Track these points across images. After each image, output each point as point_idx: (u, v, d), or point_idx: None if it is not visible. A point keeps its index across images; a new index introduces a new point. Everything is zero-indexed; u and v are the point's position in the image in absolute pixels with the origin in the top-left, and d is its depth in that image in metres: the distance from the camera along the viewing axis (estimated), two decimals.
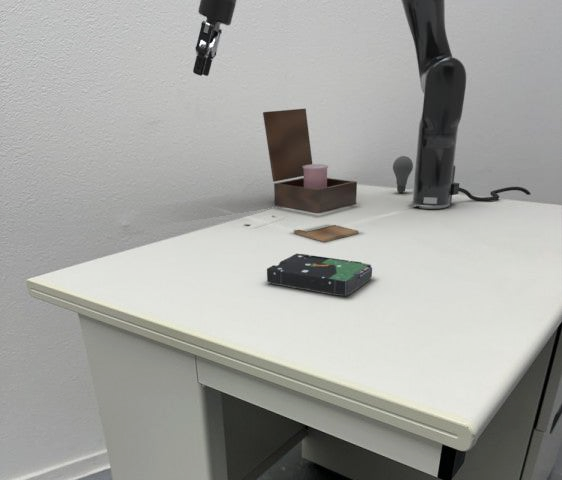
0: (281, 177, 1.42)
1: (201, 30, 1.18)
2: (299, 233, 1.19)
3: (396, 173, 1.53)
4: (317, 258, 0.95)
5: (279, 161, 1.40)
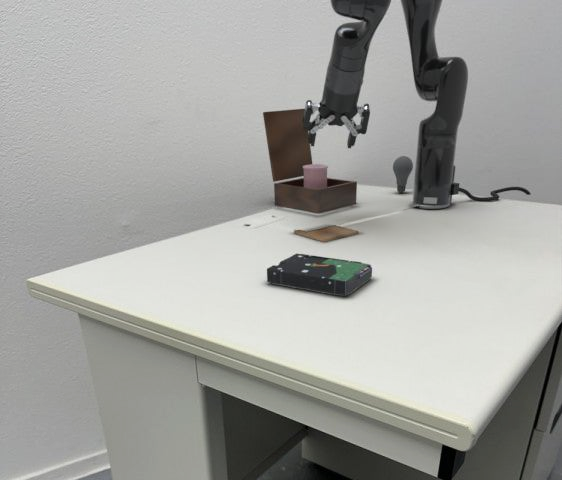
0: (281, 177, 1.42)
1: None
2: (299, 233, 1.19)
3: (396, 173, 1.53)
4: (317, 258, 0.95)
5: (279, 161, 1.40)
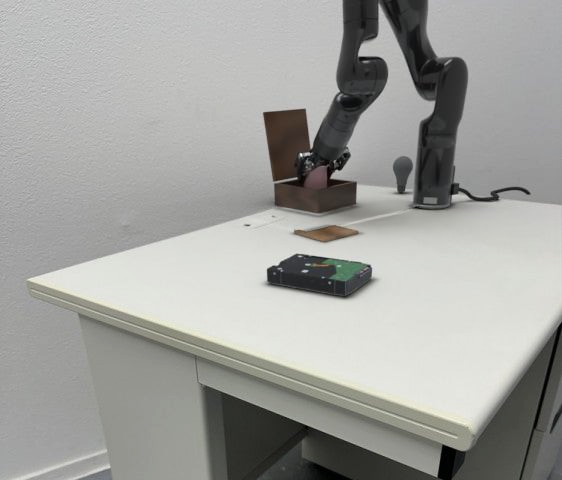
0: (281, 177, 1.42)
1: None
2: (299, 233, 1.19)
3: (396, 173, 1.53)
4: (317, 258, 0.95)
5: (279, 161, 1.40)
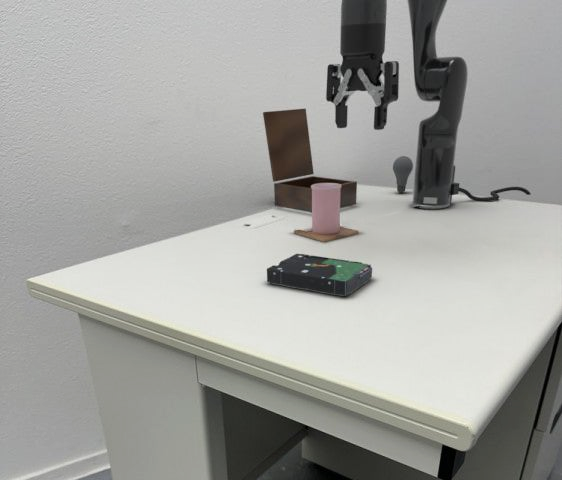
0: (281, 177, 1.42)
1: (391, 74, 0.90)
2: (299, 233, 1.19)
3: (396, 173, 1.53)
4: (317, 258, 0.95)
5: (279, 161, 1.40)
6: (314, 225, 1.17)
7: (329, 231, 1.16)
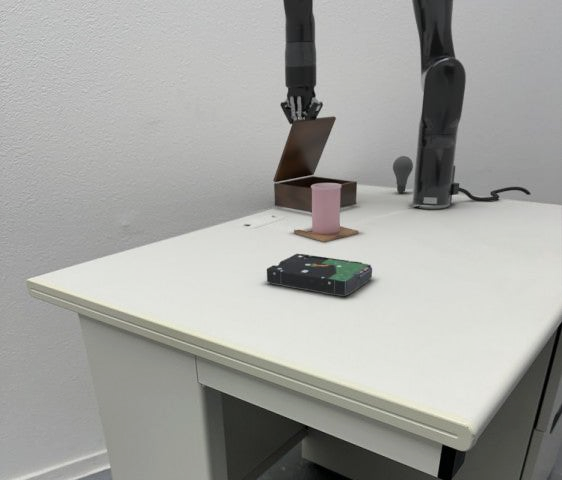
0: (282, 178, 1.41)
1: (314, 111, 1.31)
2: (299, 233, 1.19)
3: (396, 173, 1.53)
4: (317, 258, 0.95)
5: (287, 165, 1.39)
6: (314, 225, 1.17)
7: (329, 231, 1.16)
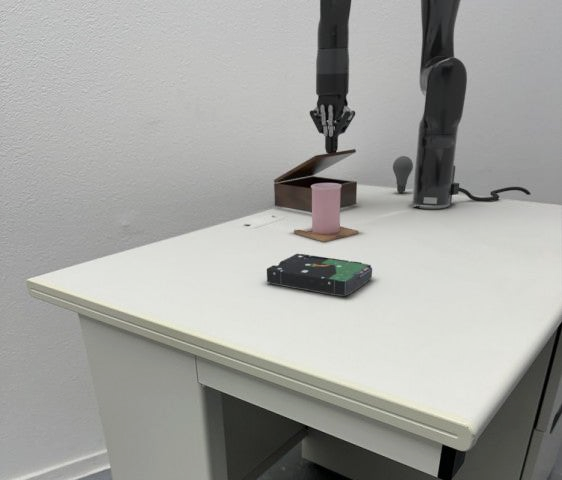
0: (282, 180, 1.42)
1: (346, 120, 1.25)
2: (299, 233, 1.19)
3: (396, 173, 1.53)
4: (317, 258, 0.95)
5: (292, 175, 1.39)
6: (314, 225, 1.17)
7: (329, 231, 1.16)
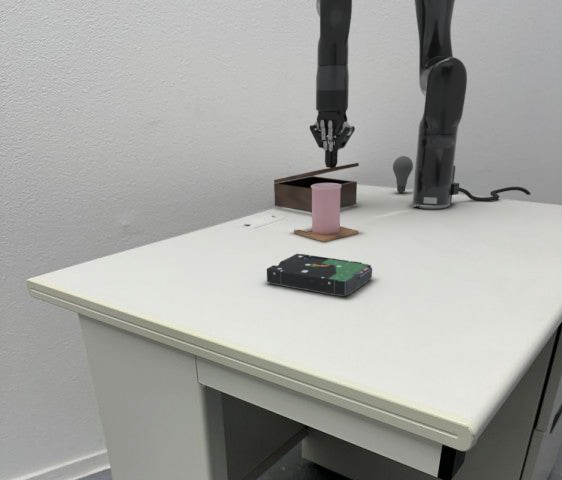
0: None
1: (345, 136, 1.27)
2: (299, 233, 1.19)
3: (396, 173, 1.53)
4: (317, 258, 0.95)
5: (293, 179, 1.39)
6: (314, 225, 1.17)
7: (329, 231, 1.16)
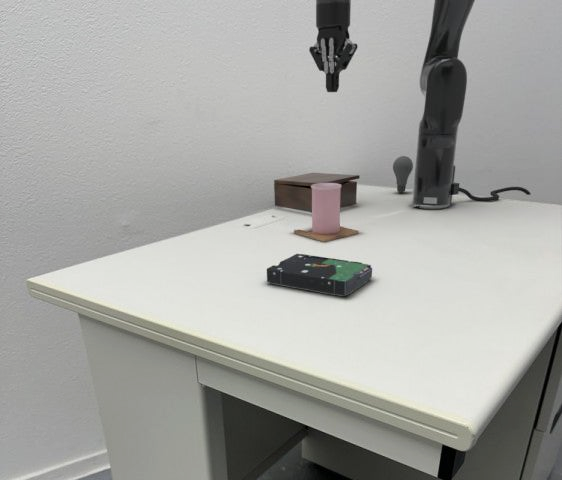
0: None
1: (347, 54, 1.19)
2: (299, 233, 1.19)
3: (396, 173, 1.53)
4: (317, 258, 0.95)
5: None
6: (314, 225, 1.17)
7: (329, 231, 1.16)
